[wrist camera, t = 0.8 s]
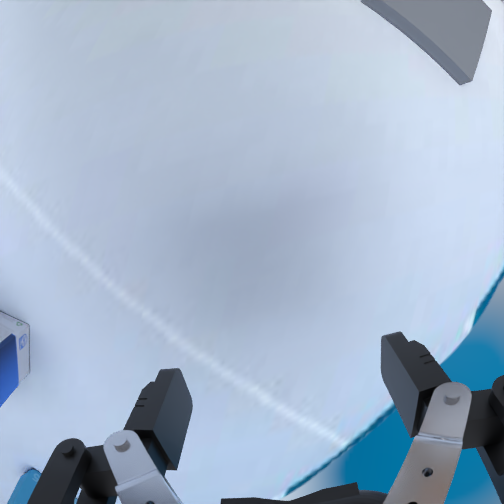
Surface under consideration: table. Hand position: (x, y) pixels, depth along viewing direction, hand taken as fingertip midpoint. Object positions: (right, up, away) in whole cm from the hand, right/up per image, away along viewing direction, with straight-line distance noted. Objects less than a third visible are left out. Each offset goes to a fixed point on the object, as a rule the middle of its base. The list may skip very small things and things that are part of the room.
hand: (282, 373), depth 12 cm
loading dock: (+23, +37, +15) cm, 46 cm away
